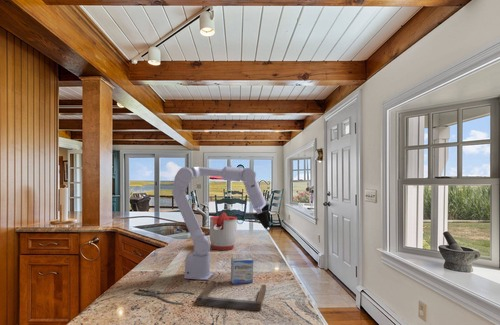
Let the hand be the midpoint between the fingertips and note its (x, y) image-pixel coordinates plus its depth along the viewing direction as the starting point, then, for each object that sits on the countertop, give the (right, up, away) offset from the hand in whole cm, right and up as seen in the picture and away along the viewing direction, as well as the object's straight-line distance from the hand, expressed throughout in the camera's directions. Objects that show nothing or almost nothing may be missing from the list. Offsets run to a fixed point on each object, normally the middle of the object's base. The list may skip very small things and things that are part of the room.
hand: (268, 224), depth 124 cm
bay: (-13, -19, -26) cm, 34 cm away
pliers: (-37, -19, -27) cm, 49 cm away
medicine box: (-11, -20, -11) cm, 25 cm away
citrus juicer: (-23, -22, +40) cm, 51 cm away
